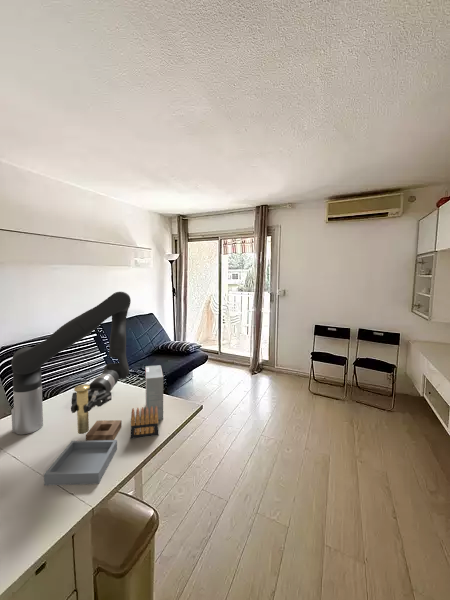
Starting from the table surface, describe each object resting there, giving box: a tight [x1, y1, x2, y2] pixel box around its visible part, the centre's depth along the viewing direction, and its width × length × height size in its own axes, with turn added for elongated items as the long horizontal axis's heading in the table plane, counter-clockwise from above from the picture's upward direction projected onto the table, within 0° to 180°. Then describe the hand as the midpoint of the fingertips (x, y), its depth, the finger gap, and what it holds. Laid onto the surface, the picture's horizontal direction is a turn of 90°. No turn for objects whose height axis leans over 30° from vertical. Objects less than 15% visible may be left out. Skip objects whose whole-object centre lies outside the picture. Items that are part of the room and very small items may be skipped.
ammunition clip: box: [129, 406, 159, 439], centre depth 103 cm, size 11×2×12 cm, turn 104°
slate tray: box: [43, 439, 118, 486], centre depth 86 cm, size 16×16×4 cm
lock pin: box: [73, 383, 90, 435], centre depth 84 cm, size 4×4×15 cm
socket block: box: [85, 419, 123, 441], centre depth 103 cm, size 10×10×3 cm
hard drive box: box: [145, 364, 164, 421], centre depth 120 cm, size 16×8×20 cm, turn 18°
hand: (79, 410), depth 82 cm, fingers closed on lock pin, 3 cm apart
